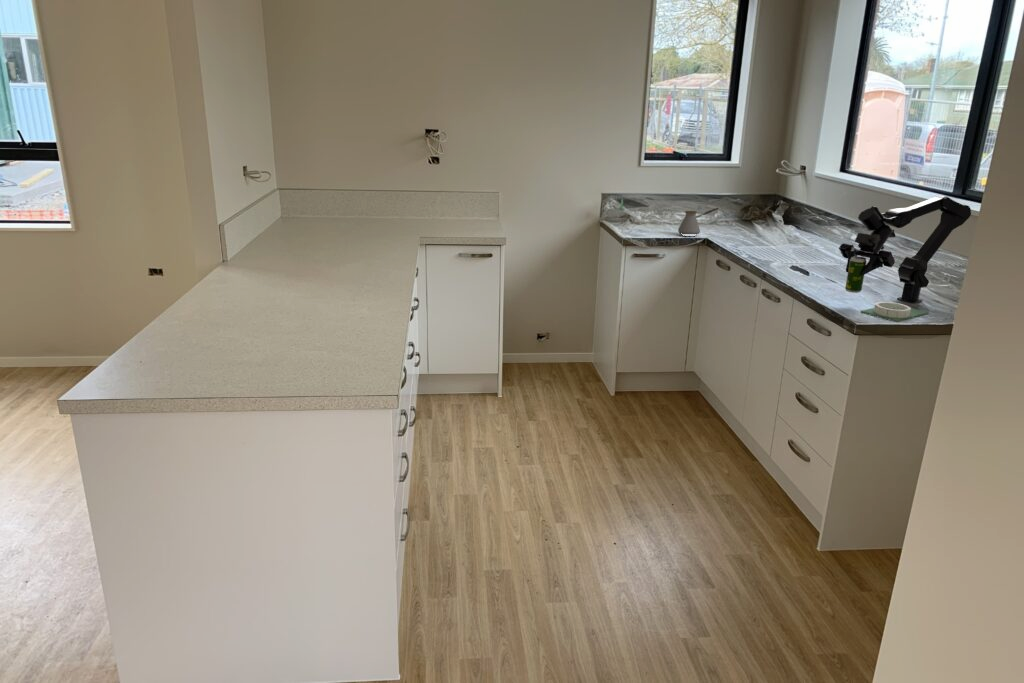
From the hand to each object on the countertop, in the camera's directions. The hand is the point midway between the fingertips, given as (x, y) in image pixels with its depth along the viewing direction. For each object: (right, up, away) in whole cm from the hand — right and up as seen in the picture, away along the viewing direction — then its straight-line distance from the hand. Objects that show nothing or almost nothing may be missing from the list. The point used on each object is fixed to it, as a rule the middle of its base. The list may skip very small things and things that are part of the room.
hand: (853, 273), depth 256 cm
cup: (+11, -15, -5) cm, 19 cm away
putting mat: (+13, -14, -3) cm, 19 cm away
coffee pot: (-21, +32, +132) cm, 138 cm away
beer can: (+1, -6, +3) cm, 7 cm away
